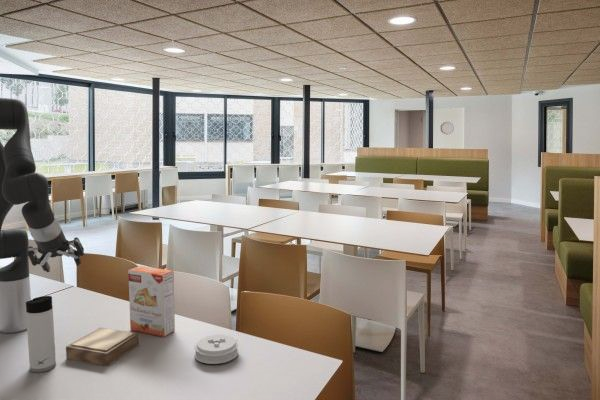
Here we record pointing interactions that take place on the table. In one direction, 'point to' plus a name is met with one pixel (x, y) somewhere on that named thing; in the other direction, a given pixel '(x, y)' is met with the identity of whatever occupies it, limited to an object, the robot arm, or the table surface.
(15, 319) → the robot arm
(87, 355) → the walnut riser
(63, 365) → the table surface
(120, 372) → the table surface
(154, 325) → the cracker box
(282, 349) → the table surface
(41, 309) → the travel mug
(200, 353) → the lid
